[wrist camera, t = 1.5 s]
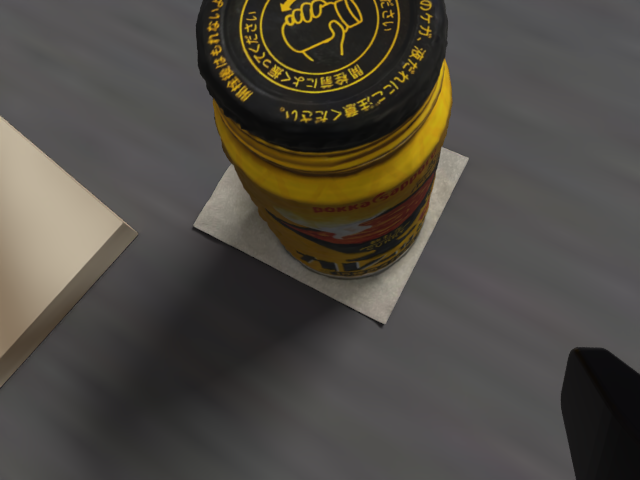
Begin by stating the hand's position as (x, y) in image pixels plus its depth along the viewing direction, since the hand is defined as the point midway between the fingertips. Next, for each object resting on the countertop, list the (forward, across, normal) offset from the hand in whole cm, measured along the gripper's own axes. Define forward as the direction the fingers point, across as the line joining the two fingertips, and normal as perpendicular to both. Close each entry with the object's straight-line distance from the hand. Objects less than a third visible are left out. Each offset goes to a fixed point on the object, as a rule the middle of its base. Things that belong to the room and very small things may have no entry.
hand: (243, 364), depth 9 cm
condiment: (+15, 0, +4) cm, 16 cm away
